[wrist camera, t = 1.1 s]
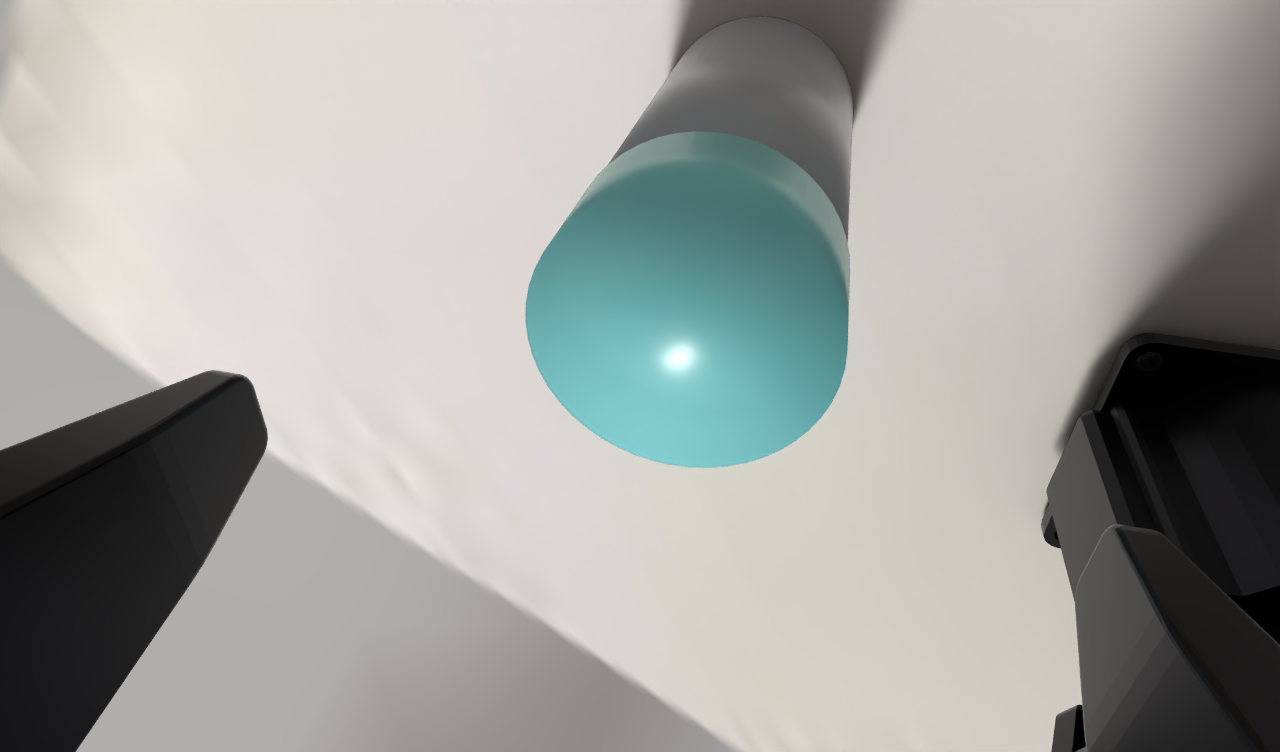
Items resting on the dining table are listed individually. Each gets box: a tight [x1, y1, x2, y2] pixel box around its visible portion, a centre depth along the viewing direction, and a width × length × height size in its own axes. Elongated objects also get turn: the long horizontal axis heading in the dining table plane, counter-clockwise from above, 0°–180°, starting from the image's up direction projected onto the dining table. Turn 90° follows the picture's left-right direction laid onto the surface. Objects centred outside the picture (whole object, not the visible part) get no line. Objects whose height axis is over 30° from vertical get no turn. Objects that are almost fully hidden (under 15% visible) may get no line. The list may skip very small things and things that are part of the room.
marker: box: [526, 17, 853, 468], centre depth 14 cm, size 4×4×9 cm
